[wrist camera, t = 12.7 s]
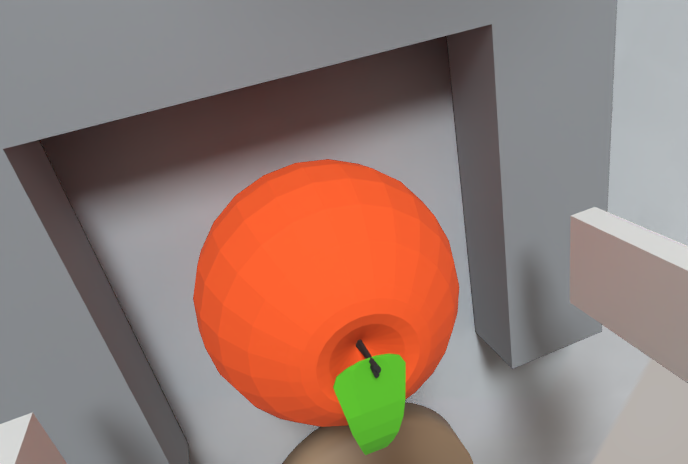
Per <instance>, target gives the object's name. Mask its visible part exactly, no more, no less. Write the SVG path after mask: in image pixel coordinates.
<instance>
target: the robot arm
mask: <svg viewBox="0 0 688 464" xmlns="http://www.w3.org/2000/svg"><path fill="white" fill-rule="evenodd" d="M570 303H571V304H573V305H574V306H576V307H577V308H579V309H580V310H582V311H583V312H585V313H586V314H587V315H589V316H590V317H592V318H593V319H595V320H596V321H598V322H599V323H601V324H602V325H604V326H605V327H606V328H608V329H609V330H611V331H612V332H614V333H615V334H617V335H618V336H620V337H621V338H622V339H624V340H625V341H627V342H628V343H630V344H631V345H633V346H634V347H636V348H637V349H638V350H640V351H641V352H643V353H644V354H646V355H647V356H649V357H650V358H652V359H653V360H655V361H656V362H657V363H659V364H660V365H662V366H663V367H665V368H666V369H668V370H669V371H671V372H672V373H673V374H675V375H677V376H678V377H679V378H681V379H682V380H684V381H685V382H687V383H688V246H687V245H684V244H682V243H680V242H677V241H675V240H672V239H670V238H668V237H665V236H663V235H661V234H658V233H656V232H654V231H651V230H649V229H646V228H644V227H642V226H639V225H637V224H635V223H632V222H630V221H627V220H625V219H623V218H620V217H618V216H616V215H613V214H611V213H609V212H606V211H604V210H601V209H599V208H597V207H593V208H590V209H587V210H585V211H582V212H579V213H576V214H574V215H571V224H570ZM0 464H67V463H66V461H65V460H64V458H63V457H62V455H61V454H60V452H59V451H58V449H57V448H56V446H55V445H54V444H53V442H52V441H51V439H50V438H49V436H48V435H47V433H46V432H45V430H44V429H43V427H42V426H41V424H40V423H39V421H38V420H37V418H36V417H35V415H34V414H33V412H32V413H29V414H27V415H24V416H21V417H19V418H16V419H13V420H10V421H8V422H5V423H2V424H0Z"/></svg>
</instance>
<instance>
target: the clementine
mask: <svg viewBox="0 0 688 464" xmlns="http://www.w3.org/2000/svg"><path fill="white" fill-rule="evenodd" d="M458 296H459V283H458V279H457V274H456V270H455V265H454V260H453V256H452V252H451V248H450V244H449V240H448V239H447V237H446V235H445V233H444V232H443V230H442V228H441V226H440V224H439V223H438V221H437V219H436V217H435V216H434V215H433V214H432V212H431V211H430V210H429V209H428V208H427V206H426V205H425V204H424V203H423V202H422V201H421V200H420V199H419V198H418V197H417V196H416V195H415V194H413V193H412V192H411V191H410V190H409V189H408V188H407V187H406V186H405V185H404V184H403V183H401V182H400V181H398V180H396V179H394V178H391V177H389V176H387V175H385V174H383V173H381V172H379V171H377V170H374V169H372V168H369V167H366V166H363V165H360V164H356V163H349V162H343V161H336V160H329V159H326V160H317V161H309V162H300V163H294V164H292V165H289V166H287V167H284V168H281V169H279V170H276V171H274V172H271V173H269V174H266V175H264V176H262V177H261V178H259V179H258V180H257V181H255V182H254V183H252V184H251V185H250V186H248V187H247V188H245V189H244V190H243V191H241V192H240V193H239V194H237V195H236V196H235V197H234V198H233V199H232V201H231V202H230V203H229V204H228V205H227V207H226V208H225V209H224V210H223V211H222V213H221V214H220V215H219V216H218V218H217V219H216V220H215V221H214V223H213V225H212V227H211V229H210V232H209V234H208V236H207V238H206V241H205V243H204V245H203V247H202V250H201V252H200V257H199V261H198V266H197V273H196V281H195V289H194V297H193V300H194V305H195V311H196V316H197V322H198V327H199V331H200V334H201V337H202V340H203V342H204V345H205V348H206V350H207V352H208V354H209V355H210V357H211V359H212V361H213V363H214V364H215V366H216V368H217V370H218V372H219V373H220V375H221V376H223V377H224V378H225V379H226V380H227V381H228V382H229V383H230V384H231V385H232V386H233V387H235V388H236V389H237V390H238V391H239V392H240V393H241V394H242V395H243V396H244V397H245V398H246V399H248V400H249V401H250V402H251V403H252V404H253V405H254V406H255V407H257V408H259V409H261V410H263V411H265V412H267V413H269V414H271V415H274V416H276V417H278V418H280V419H284V420H289V421H293V422H298V423H304V424H309V425H315V426H320V427H329V426H347V425H349V427H350V430H351V432H352V435H353V437H354V438H355V440H356V442H357V443H358V445H359V446H360V448H361V450H362V451H363V453H364V454H365V455H368V454H370V453H373V452H375V451H378V450H380V449H383V448H385V447H387V446H388V445H389V444H390V443H391V442H392V441H393V440H394V438H395V436H396V435H397V433H398V432H399V429H400V426H401V422H402V419H403V416H404V407H405V400H406V399H407V398H408V397H410V396H411V395H412V394H414V393H415V392H416V391H417V390H418V389H419V388H420V387H421V386H422V384H423V383H424V382H425V381H426V380H427V379H428V378H429V377H430V376H431V375H432V373H433V372H434V370H435V369H436V367H437V365H438V364H439V362H440V360H441V359H442V357H443V355H444V354H445V351H446V348H447V345H448V342H449V339H450V336H451V333H452V330H453V327H454V323H455V319H456V316H457V311H458Z"/></svg>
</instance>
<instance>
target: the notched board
mask: <svg viewBox="0 0 688 464" xmlns="http://www.w3.org/2000/svg"><path fill="white" fill-rule="evenodd" d="M616 14H617V0H0V424H2V423H5V422H8V421H10V420H13V419H16V418H19V417H21V416H24V415H27V414H29V413H32V412H33V414H34V415H35V417H36V418H37V420H38V421H39V423H40V424H41V426H42V427H43V429H44V430H45V432H46V433H47V435H48V436H49V438H50V439H51V441H52V442H53V444H54V445H55V446H56V448H57V449H58V451H59V452H60V454H61V455H62V457H63V458H64V460H65V461H66V463H67V464H189V447H188V443H187V441H186V439H185V437H184V435H183V433H182V431H181V429H180V427H179V425H178V423H177V420H176V418H175V416H174V414H173V412H172V410H171V408H170V406H169V404H168V402H167V400H166V398H165V396H164V394H163V392H162V390H161V388H160V386H159V384H158V382H157V380H156V378H155V376H154V374H153V372H152V370H151V368H150V366H149V364H148V361H147V359H146V357H145V355H144V353H143V351H142V349H141V347H140V345H139V343H138V341H137V339H136V337H135V335H134V333H133V331H132V329H131V327H130V325H129V323H128V321H127V319H126V317H125V315H124V313H123V311H122V309H121V307H120V304H119V302H118V300H117V298H116V296H115V294H114V292H113V290H112V288H111V286H110V284H109V282H108V280H107V278H106V276H105V274H104V272H103V270H102V268H101V266H100V264H99V262H98V260H97V258H96V256H95V254H94V252H93V250H92V248H91V245H90V243H89V241H88V239H87V237H86V235H85V233H84V231H83V229H82V227H81V225H80V223H79V221H78V219H77V217H76V215H75V213H74V211H73V209H72V207H71V205H70V203H69V201H68V199H67V197H66V195H65V193H64V191H63V189H62V186H61V184H60V182H59V180H58V178H57V176H56V174H55V172H54V170H53V168H52V166H51V164H50V162H49V160H48V158H47V156H46V154H45V152H44V150H43V148H42V146H41V144H40V142H39V140H40V139H44V138H48V137H52V136H56V135H60V134H64V133H68V132H72V131H75V130H79V129H83V128H87V127H91V126H95V125H99V124H103V123H107V122H111V121H115V120H119V119H122V118H126V117H130V116H134V115H138V114H142V113H146V112H150V111H154V110H158V109H162V108H165V107H169V106H173V105H177V104H181V103H185V102H189V101H193V100H197V99H201V98H205V97H208V96H212V95H216V94H220V93H224V92H228V91H232V90H236V89H240V88H244V87H248V86H252V85H255V84H259V83H263V82H267V81H271V80H275V79H279V78H283V77H287V76H291V75H295V74H298V73H302V72H306V71H310V70H314V69H318V68H322V67H326V66H330V65H334V64H338V63H342V62H345V61H349V60H353V59H357V58H361V57H365V56H369V55H373V54H377V53H381V52H385V51H388V50H392V49H396V48H400V47H404V46H408V45H412V44H416V43H420V42H424V41H428V40H432V39H435V38H439V37H443V36H447V46H448V56H449V66H450V76H451V86H452V96H453V107H454V117H455V127H456V137H457V147H458V157H459V168H460V178H461V188H462V198H463V208H464V218H465V228H466V239H467V249H468V259H469V269H470V279H471V289H472V300H473V310H474V320H475V330H476V333H477V334H478V335H479V336H480V337H481V338H482V339H483V340H484V341H485V342H486V343H487V344H488V345H489V346H490V347H491V348H492V349H493V350H494V351H495V352H496V353H497V354H498V355H499V356H500V357H501V358H502V359H503V360H504V361H505V362H506V363H507V364H508V365H509V366H510V367H511V368H512V369H513V368H516V367H518V366H520V365H523V364H525V363H528V362H530V361H532V360H535V359H537V358H540V357H542V356H544V355H547V354H549V353H552V352H554V351H556V350H559V349H561V348H564V347H566V346H568V345H571V344H573V343H576V342H578V341H580V340H583V339H585V338H588V337H590V336H592V335H595V334H597V333H600V332H602V324H601V323H599V322H598V321H596V320H595V319H593V318H592V317H590V316H589V315H587V314H586V313H585V312H583V311H582V310H580V309H579V308H577V307H576V306H574V305H573V304H571V303H570V224H571V215H574V214H576V213H579V212H582V211H585V210H587V209H590V208H593V207H597V208H599V209H601V210H604V211H606V212H607V208H608V187H609V165H610V143H611V122H612V100H613V79H614V57H615V35H616Z"/></svg>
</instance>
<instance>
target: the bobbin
mask: <svg viewBox="0 0 688 464" xmlns="http://www.w3.org/2000/svg"><path fill="white" fill-rule="evenodd" d="M282 464H473V461H472V459H471V457H470V454H469V453H468V451H467V450H466V448H465V447H464V445H463V444H462V443H461V441H460V440H459V438H458V437H457V435H456V434H455V432H454V431H453V429H452V428H451V427H450V425H449V424H448V422H447V421H446V420H445V419H444V418H443V417H442V416H441V415H439V414H438V413H436V412H435V411H433V410H431V409H429V408H426V407H424V406H421V405H417V404H413V403H405V407H404V416H403V419H402V422H401V426H400V429H399V432H398V433H397V435H396V436H395V438H394V440H393V441H392V442H391V443H390V444H389V445H388V446H387V447H385V448H383V449H380V450H378V451H375V452H373V453H370V454H368V455H365V454H364V453H363V451H362V450H361V448H360V446H359V445H358V443H357V442H356V440H355V438H354V437H353V435H352V432H351V430H350V427H349V425H347V426H329V427H320V428H318V429H317V430H315V431H314V432H313V433H311V434H310V435H309V436H308V437H306V438H305V439H304V440H303V441H302V442H301V443H300V444H299V445H298V446H297V447H296V448H295V449H294V450H293V451H292V452H291V453H290V454H289V455H288V457H287V458H286V459H285V461H284V462H283V463H282Z"/></svg>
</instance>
